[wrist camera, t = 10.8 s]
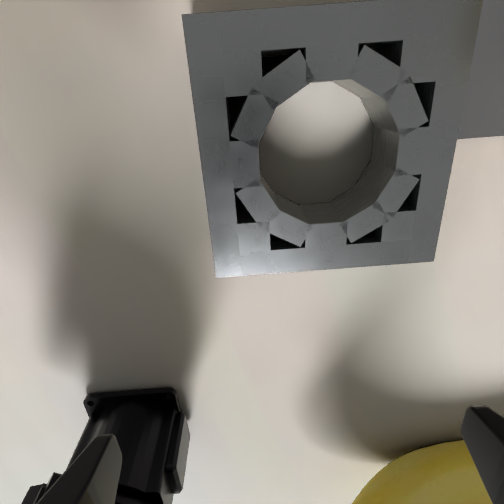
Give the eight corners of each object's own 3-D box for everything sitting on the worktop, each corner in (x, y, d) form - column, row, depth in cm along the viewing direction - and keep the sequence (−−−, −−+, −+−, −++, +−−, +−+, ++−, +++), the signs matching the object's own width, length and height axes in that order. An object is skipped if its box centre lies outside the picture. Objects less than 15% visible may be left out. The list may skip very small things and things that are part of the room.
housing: (219, 252, 20) (216, 277, 17) (191, 28, 15) (181, 14, 12) (406, 237, 20) (433, 261, 17) (440, 10, 15) (484, -8, 12)
